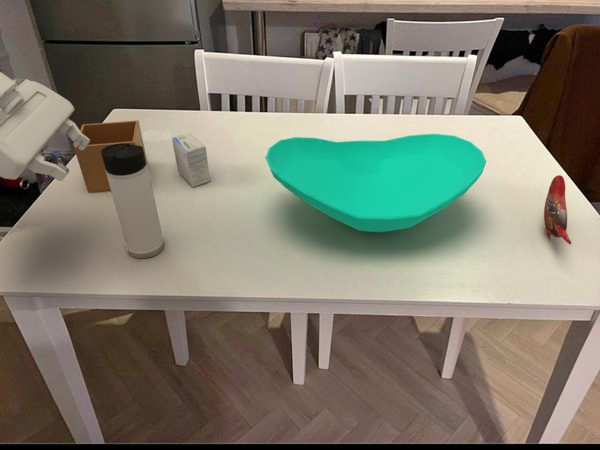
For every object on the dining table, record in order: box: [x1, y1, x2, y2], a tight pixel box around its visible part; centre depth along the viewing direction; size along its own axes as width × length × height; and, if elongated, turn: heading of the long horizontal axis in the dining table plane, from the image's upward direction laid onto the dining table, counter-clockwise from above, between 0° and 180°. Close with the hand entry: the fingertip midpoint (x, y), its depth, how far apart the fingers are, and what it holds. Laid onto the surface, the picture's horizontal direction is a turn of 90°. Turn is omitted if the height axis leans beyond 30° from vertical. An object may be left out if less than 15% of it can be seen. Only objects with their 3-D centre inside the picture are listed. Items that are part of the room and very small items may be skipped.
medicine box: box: [171, 132, 211, 188], centre depth 99 cm, size 8×4×9 cm, turn 34°
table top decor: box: [265, 133, 487, 233], centre depth 87 cm, size 40×28×13 cm
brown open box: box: [73, 119, 149, 194], centre depth 98 cm, size 12×10×11 cm
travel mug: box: [101, 143, 165, 259], centre depth 76 cm, size 6×7×20 cm
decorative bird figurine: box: [543, 174, 572, 245], centre depth 82 cm, size 3×18×10 cm, turn 166°
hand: (77, 160), depth 71 cm, fingers open, 8 cm apart
